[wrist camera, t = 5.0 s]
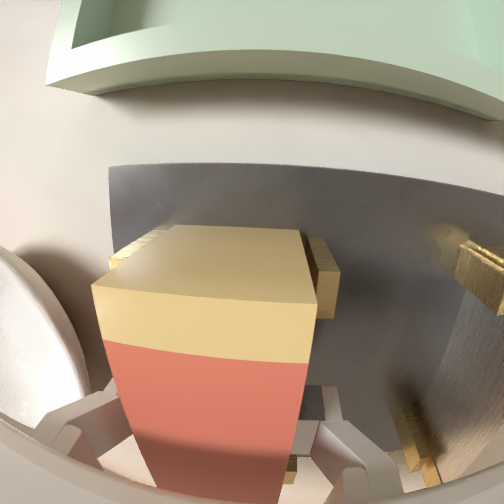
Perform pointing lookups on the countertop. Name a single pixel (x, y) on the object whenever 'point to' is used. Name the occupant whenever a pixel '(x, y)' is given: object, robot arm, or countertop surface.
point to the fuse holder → (367, 291)
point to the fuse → (211, 355)
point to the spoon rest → (35, 346)
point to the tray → (288, 46)
